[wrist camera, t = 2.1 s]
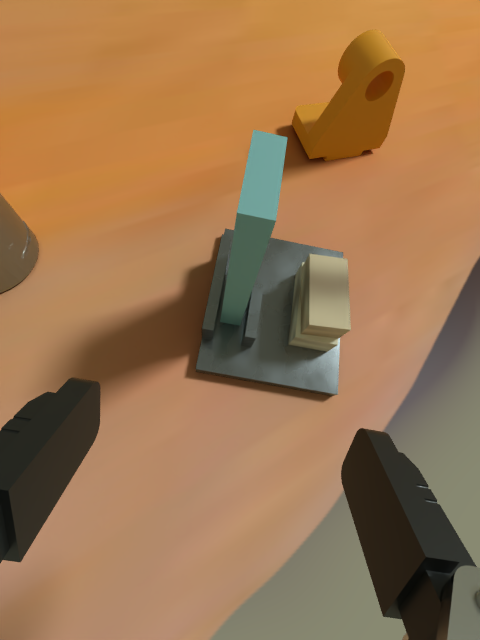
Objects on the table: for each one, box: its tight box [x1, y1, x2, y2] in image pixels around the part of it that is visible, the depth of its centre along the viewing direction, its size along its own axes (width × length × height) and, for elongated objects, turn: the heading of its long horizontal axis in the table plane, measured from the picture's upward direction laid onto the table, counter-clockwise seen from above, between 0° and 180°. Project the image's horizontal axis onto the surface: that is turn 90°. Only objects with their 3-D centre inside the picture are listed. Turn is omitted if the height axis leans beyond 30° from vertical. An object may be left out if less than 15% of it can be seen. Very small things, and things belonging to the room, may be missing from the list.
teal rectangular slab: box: [220, 130, 288, 326], centre depth 24 cm, size 6×2×16 cm, turn 171°
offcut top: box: [301, 254, 351, 338], centre depth 28 cm, size 7×4×2 cm, turn 175°
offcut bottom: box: [288, 262, 338, 352], centre depth 31 cm, size 8×4×2 cm, turn 171°
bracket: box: [292, 30, 405, 161], centre depth 38 cm, size 11×7×12 cm, turn 108°
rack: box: [196, 229, 343, 396], centre depth 31 cm, size 16×14×4 cm
